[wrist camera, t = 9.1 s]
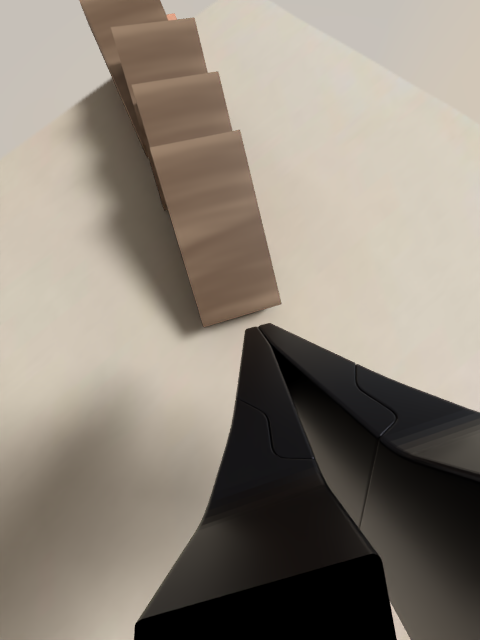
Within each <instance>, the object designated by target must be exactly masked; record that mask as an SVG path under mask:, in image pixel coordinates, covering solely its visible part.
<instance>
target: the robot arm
mask: <svg viewBox="0 0 480 640" xmlns="http://www.w3.org/2000/svg"><path fill="white" fill-rule="evenodd" d="M390 602H391V604H392V606H393V607H394V609H395V611H396V613H397V615H398V617H399V619H400V620H401V622H402V624H403V626H404V628H405V630H406V632H407V633H408V635H409V637H410V639H411V640H480V412H477V411H474V410H471V409H468V408H465V407H463V406H460V405H457V404H455V403H452V402H449V401H447V400H444V399H441V398H439V397H436V396H433V395H431V394H428V393H425V392H423V391H420V390H417V389H415V388H412V387H410V386H407V385H405V384H402V383H400V382H397V381H395V380H392V379H389V378H387V377H385V376H383V375H380V374H378V373H376V372H374V371H371V370H369V369H367V368H365V367H363V366H361V365H358V364H357V365H356V364H355V363H354V362H352V361H350V360H348V359H345V358H343V357H341V356H339V355H337V354H335V353H333V352H331V351H328V350H326V349H324V348H322V347H320V346H318V345H316V344H314V343H311V342H309V341H307V340H305V339H303V338H301V337H299V336H297V335H294V334H292V333H290V332H288V331H286V330H284V329H282V328H280V327H277V326H275V325H273V324H271V323H268V324H264V325H260V326H259V327H252V328H248V329H246V330H245V336H244V343H243V350H242V357H241V365H240V372H239V379H238V386H237V394H236V401H235V407H234V413H233V419H232V424H231V429H230V433H229V436H228V440H227V444H226V447H225V451H224V454H223V457H222V461H221V464H220V467H219V471H218V474H217V477H216V480H215V484H214V487H213V490H212V494H211V497H210V500H209V503H208V506H207V508H206V511H205V513H204V516H203V518H202V520H201V523H200V524H199V526H198V528H197V530H196V532H195V533H194V535H193V536H192V538H191V539H190V541H189V543H188V544H187V546H186V547H185V549H184V550H183V552H182V553H181V555H180V556H179V558H178V559H177V561H176V563H175V564H174V566H173V567H172V569H171V570H170V572H169V573H168V575H167V576H166V578H165V580H164V581H163V583H162V584H161V586H160V587H159V589H158V590H157V592H156V593H155V595H154V596H153V598H152V600H151V601H150V603H149V604H148V606H147V607H146V609H145V610H144V612H143V613H142V615H141V617H140V618H139V620H138V621H137V623H136V624H135V635H134V640H397V639H396V634H395V628H394V623H393V617H392V612H391V606H390Z"/></svg>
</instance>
